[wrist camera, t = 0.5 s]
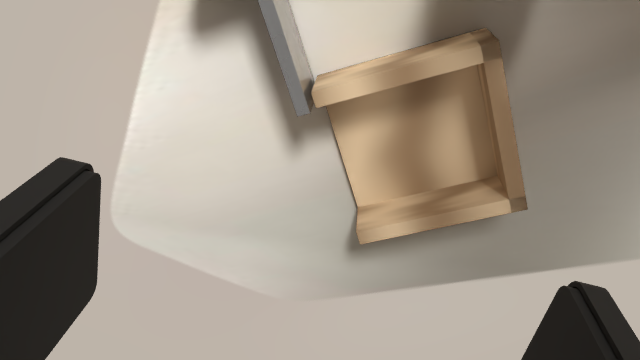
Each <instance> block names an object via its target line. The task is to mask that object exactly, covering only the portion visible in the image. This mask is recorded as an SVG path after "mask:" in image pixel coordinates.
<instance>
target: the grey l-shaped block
mask: <svg viewBox="0 0 640 360" xmlns="http://www.w3.org/2000/svg"><path fill="white" fill-rule="evenodd" d="M258 2H259V5H260V8H261V11H262V14H263V17H264V20H265V23H266V26H267V29H268V32H269V35H270V37H271V40H272V43H273V46H274V49H275V52H276V55H277V58H278V61H279V64H280V67H281V70H282V73H283V76H284V79H285V82H286V84H287V87H288V90H289V93H290V96H291V99H292V102H293V105H294V108H295V111H296V114H297V117H298V116H301V115H305V114H309V113H310V112H311V109H312V106H313V103H314V100H313V97H312V94H311V92H312V89H313V86H314V84H315V82H314V79H313V76H312V72H311V69H310V66H309V63H308V60H307V57H306V54H305V50H304V47H303V44H302V41H301V38H300V35H299V32H298V28H297V25H296V22H295V19H294V16H293V13H292V10H291V6H290V3H289V0H258Z"/></svg>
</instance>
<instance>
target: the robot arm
mask: <svg viewBox="0 0 640 360" xmlns="http://www.w3.org/2000/svg"><path fill="white" fill-rule="evenodd" d="M100 192H101V177H100V175H99V174H98V173H94V171H93V168H92V166H91V165H90V164H88V163H83V162H79V161H75V160H71V159H67V158H61V157H60V158H58V159H56V160H55V161H54V162H52V163H51V164H50V165H48V166H47V167H45V168H44V169H43V170H42V171H40V172H39V173H37V174H36V175H35V176H33V177H32V178H31V179H29V180H28V181H27V182H25V183H24V184H22V185H21V186H20V187H18V188H17V189H16V190H14V191H13V192H12V193H11V194H9V195H8V196H6V197H5V198H4V199H2V200H1V201H0V360H45V359H46V357H47V356H48V355H49V354H50V352H51V351H52V350H53V348H54V347H55V346H56V344H57V343H58V342H59V340H60V339H61V338H62V337H63V335H64V334H65V333H66V331H67V330H68V329H69V327H70V326H71V325H72V323H73V322H74V321H75V319H76V318H77V317H78V315H79V314H80V313H81V311H82V310H83V309H84V307H85V306H86V305H87V304H88V302H89V301H90V299H91V298H92V296H93V294H94V291H95V289H96V285H97V270H98V269H97V267H98V244H99V217H100V194H101V193H100ZM521 360H640V341H639V340H638V338H637V337H636V335H635V333H634V332H633V330H632V329H631V327H630V326H629V324H628V322H627V321H626V319H625V318H624V316H623V314H622V313H621V311H620V310H619V308H618V306H617V305H616V303H615V302H614V300H613V298H612V297H611V295H610V294H609V292H608V291H607V290H606V289H605V288H602V287H598V286H594V285H590V284H586V283H582V282H578V281H574V282H572V283H570V284H569V285H568V286H562V287H560V288H559V290H558V291H557V293H556V295H555V297H554V299H553V301H552V303H551V304H550V306H549V308H548V310H547V312H546V314H545V316H544V318H543V320H542V321H541V323H540V325H539V327H538V329H537V331H536V333H535V335H534V336H533V338H532V340H531V342H530V344H529V346H528V348H527V350H526V352H525V354H524V355H523V357H522V359H521Z"/></svg>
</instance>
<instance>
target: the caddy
mask: <svg viewBox="0 0 640 360" xmlns="http://www.w3.org/2000/svg"><path fill="white" fill-rule="evenodd" d="M311 94H312V97H313V100H314V103H315V106H316V108H319V107H322V106H326V108H327V111H328V114H329V117H330V120H331V124H332V127H333V130H334V133H335V136H336V140H337V143H338V146H339V149H340V152H341V155H342V159H343V162H344V165H345V168H346V171H347V174H348V178H349V181H350V184H351V187H352V190H353V193H354V197H355V200H356V203H357V206H358V213H357V228H356V233H357V236H358V239H359V242H360V244H365V243H370V242H375V241H379V240H384V239H389V238H394V237H398V236H403V235H408V234H413V233H417V232H422V231H427V230H432V229H436V228H441V227H446V226H451V225H455V224H460V223H465V222H470V221H474V220H479V219H484V218H489V217H493V216H498V215H503V214H508V213H513V212H517V211H522V210H527V209H528V208H527V202H526V196H525V191H524V185H523V179H522V173H521V167H520V161H519V155H518V149H517V144H516V138H515V132H514V126H513V120H512V114H511V108H510V103H509V97H508V91H507V85H506V79H505V73H504V67H503V61H502V56H501V50H500V44H499V40H498V39H497V38H496V37H495V36H494V35H493V34H492V33H491V32H490V31H489V30H488V29H487V28H483V29H479V30H476V31H472V32H469V33H465V34H462V35H458V36H455V37H451V38H448V39H444V40H441V41H437V42H434V43H430V44H427V45H423V46H420V47H416V48H413V49H409V50H406V51H402V52H399V53H395V54H392V55H388V56H384V57H381V58H377V59H374V60H370V61H367V62H363V63H360V64H356V65H353V66H349V67H346V68H342V69H339V70H335V71H332V72H328V73H325V74H321V75H318V76H317V79H316V81H315V84H314V86H313V89H312V92H311Z"/></svg>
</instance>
